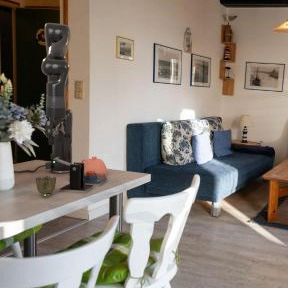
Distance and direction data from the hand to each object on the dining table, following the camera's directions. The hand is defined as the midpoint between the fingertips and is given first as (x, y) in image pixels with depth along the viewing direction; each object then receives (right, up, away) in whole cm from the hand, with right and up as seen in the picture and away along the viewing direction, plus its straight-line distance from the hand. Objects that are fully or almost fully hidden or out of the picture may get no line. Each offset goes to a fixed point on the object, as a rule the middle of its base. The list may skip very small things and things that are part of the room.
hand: (56, 143), depth 164 cm
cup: (+1, -22, -10) cm, 24 cm away
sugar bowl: (+4, -17, +29) cm, 34 cm away
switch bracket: (+8, -21, +3) cm, 22 cm away
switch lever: (+4, -10, +1) cm, 11 cm away
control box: (+8, -19, +16) cm, 26 cm away
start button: (+8, -15, +16) cm, 23 cm away
